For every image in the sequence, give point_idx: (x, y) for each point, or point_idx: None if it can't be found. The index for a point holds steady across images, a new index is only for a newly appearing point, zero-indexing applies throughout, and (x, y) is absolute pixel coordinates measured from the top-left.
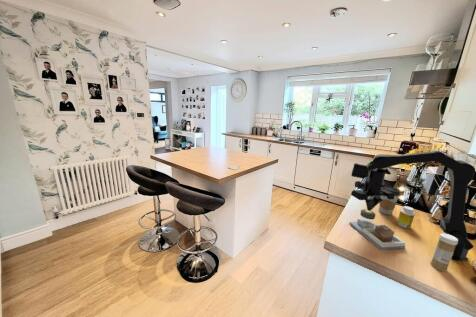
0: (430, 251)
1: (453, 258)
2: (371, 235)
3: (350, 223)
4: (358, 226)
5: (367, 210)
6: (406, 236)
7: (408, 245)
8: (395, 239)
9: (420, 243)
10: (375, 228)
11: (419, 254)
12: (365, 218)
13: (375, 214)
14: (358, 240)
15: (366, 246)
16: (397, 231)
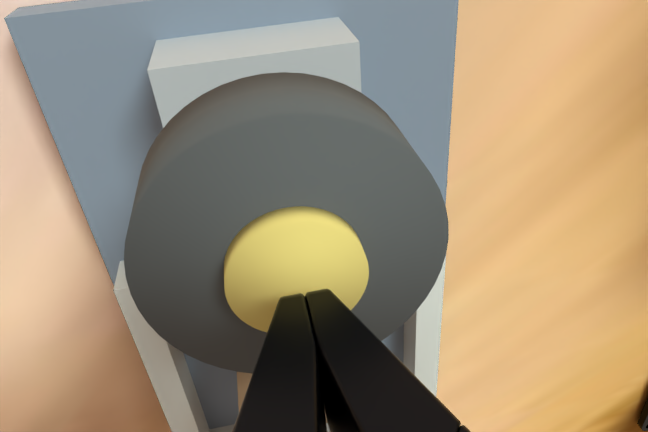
0: (590, 374)
1: (643, 423)
2: (155, 389)
3: (21, 40)
4: (122, 151)
5: (314, 232)
6: (629, 228)
7: (494, 342)
8: (408, 365)
9: (632, 305)
10: (238, 384)
11: (468, 412)
12: (320, 58)
13: (407, 317)
14: (14, 353)
15: (65, 412)
16: (638, 151)
